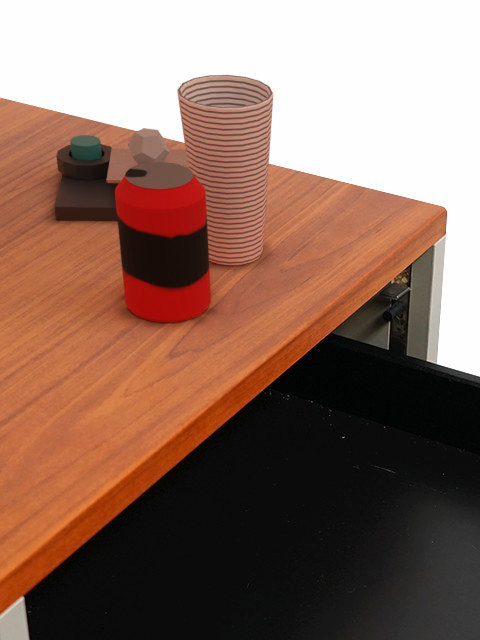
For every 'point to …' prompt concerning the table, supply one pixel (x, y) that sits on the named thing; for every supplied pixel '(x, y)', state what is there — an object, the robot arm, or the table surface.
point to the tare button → (85, 147)
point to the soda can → (163, 242)
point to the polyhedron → (148, 146)
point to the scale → (85, 188)
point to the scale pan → (124, 161)
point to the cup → (229, 159)
